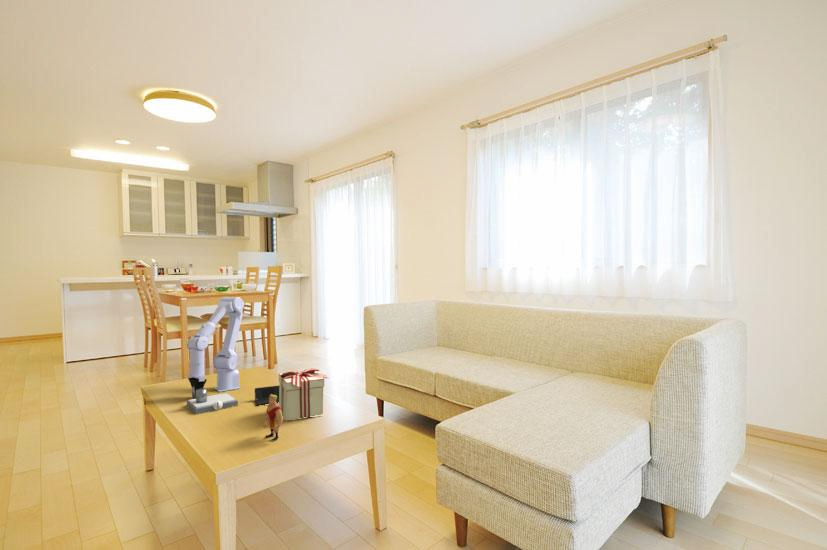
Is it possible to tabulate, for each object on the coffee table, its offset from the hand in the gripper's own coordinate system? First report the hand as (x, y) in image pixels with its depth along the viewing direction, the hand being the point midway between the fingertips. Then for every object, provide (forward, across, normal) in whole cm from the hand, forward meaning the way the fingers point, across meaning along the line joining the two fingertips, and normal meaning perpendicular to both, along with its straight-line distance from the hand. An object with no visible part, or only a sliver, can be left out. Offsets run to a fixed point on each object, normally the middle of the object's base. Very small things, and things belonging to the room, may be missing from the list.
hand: (197, 394), depth 179 cm
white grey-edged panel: (+2, +15, +2) cm, 15 cm away
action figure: (+2, +64, +7) cm, 64 cm away
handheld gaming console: (+2, +25, +22) cm, 33 cm away
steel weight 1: (+1, 0, 0) cm, 1 cm away
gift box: (+2, +49, +26) cm, 56 cm away
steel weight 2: (-1, +15, -2) cm, 15 cm away
